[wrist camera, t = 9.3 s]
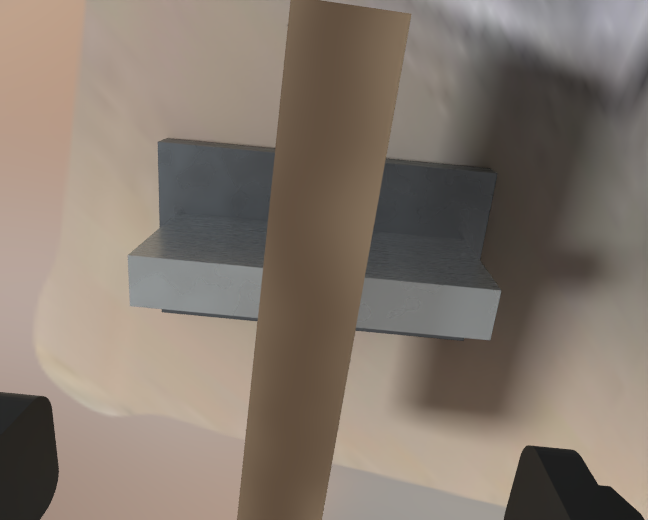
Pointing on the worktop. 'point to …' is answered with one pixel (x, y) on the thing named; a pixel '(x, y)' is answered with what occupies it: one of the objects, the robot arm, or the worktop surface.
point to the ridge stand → (384, 255)
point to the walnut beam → (317, 246)
